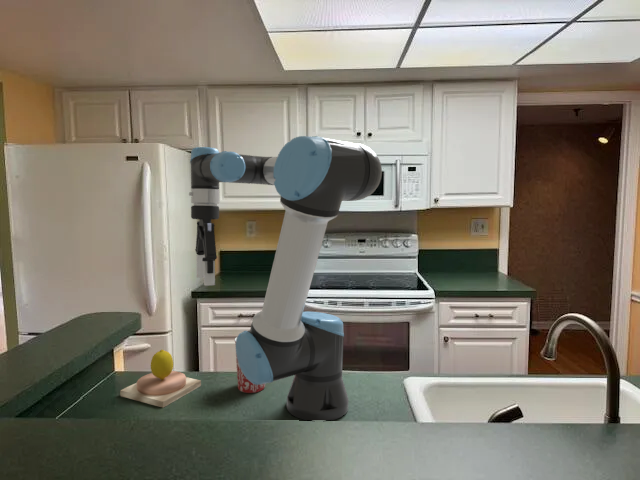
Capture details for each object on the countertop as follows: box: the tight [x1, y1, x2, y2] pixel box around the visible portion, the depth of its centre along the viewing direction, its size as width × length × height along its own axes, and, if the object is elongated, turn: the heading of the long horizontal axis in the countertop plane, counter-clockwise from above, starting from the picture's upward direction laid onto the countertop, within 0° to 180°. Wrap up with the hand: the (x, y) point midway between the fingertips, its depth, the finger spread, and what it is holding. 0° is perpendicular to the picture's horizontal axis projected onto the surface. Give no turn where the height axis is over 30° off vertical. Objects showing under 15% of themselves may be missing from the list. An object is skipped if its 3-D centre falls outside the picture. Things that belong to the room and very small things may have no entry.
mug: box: [234, 336, 266, 394], centre depth 118 cm, size 13×9×14 cm
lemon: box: [150, 349, 174, 380], centre depth 114 cm, size 6×6×8 cm
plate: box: [119, 370, 202, 409], centre depth 114 cm, size 14×14×3 cm
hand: (205, 281), depth 122 cm, fingers open, 13 cm apart
